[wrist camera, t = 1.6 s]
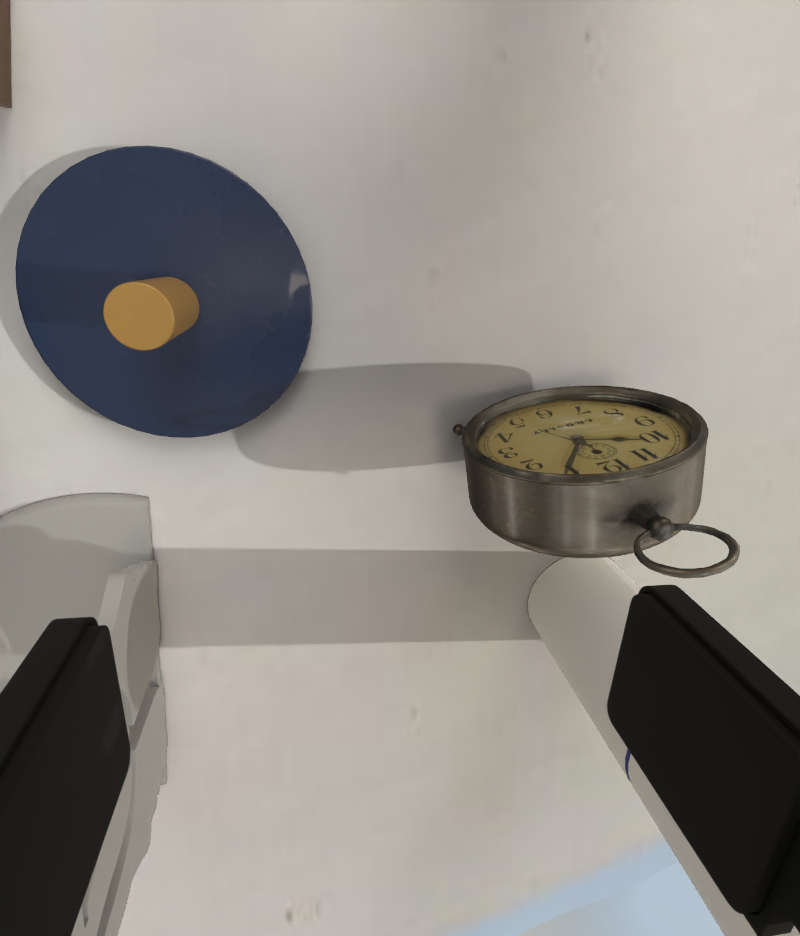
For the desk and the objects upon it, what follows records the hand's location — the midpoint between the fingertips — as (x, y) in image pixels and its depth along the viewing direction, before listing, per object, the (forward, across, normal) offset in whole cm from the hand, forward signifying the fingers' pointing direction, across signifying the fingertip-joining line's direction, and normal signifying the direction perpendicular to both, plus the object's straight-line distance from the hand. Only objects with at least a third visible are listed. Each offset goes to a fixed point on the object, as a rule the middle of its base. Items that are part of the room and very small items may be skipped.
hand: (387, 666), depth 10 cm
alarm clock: (+22, -12, +2) cm, 25 cm away
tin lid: (+22, +8, -4) cm, 23 cm away
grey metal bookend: (+22, +17, +17) cm, 33 cm away
